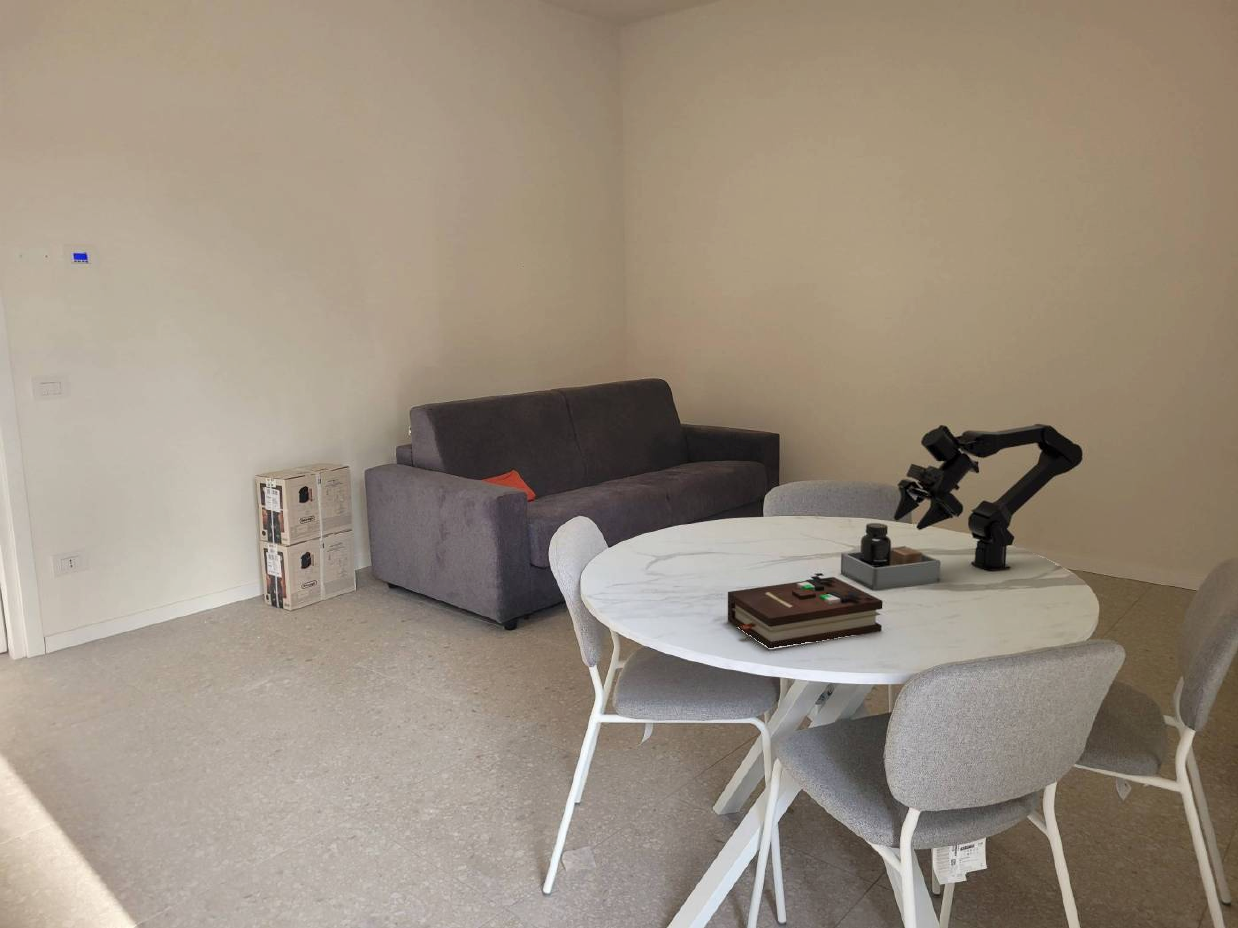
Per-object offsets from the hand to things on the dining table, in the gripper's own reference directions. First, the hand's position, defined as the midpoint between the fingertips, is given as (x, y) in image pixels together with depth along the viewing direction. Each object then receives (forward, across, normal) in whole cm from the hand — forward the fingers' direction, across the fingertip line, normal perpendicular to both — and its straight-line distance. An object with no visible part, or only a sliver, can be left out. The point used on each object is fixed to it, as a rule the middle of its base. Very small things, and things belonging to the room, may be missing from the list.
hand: (906, 524), depth 213 cm
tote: (+12, 0, +6) cm, 13 cm away
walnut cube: (+8, 0, +8) cm, 12 cm away
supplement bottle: (+14, 0, +3) cm, 14 cm away
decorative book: (+36, +22, -18) cm, 46 cm away
